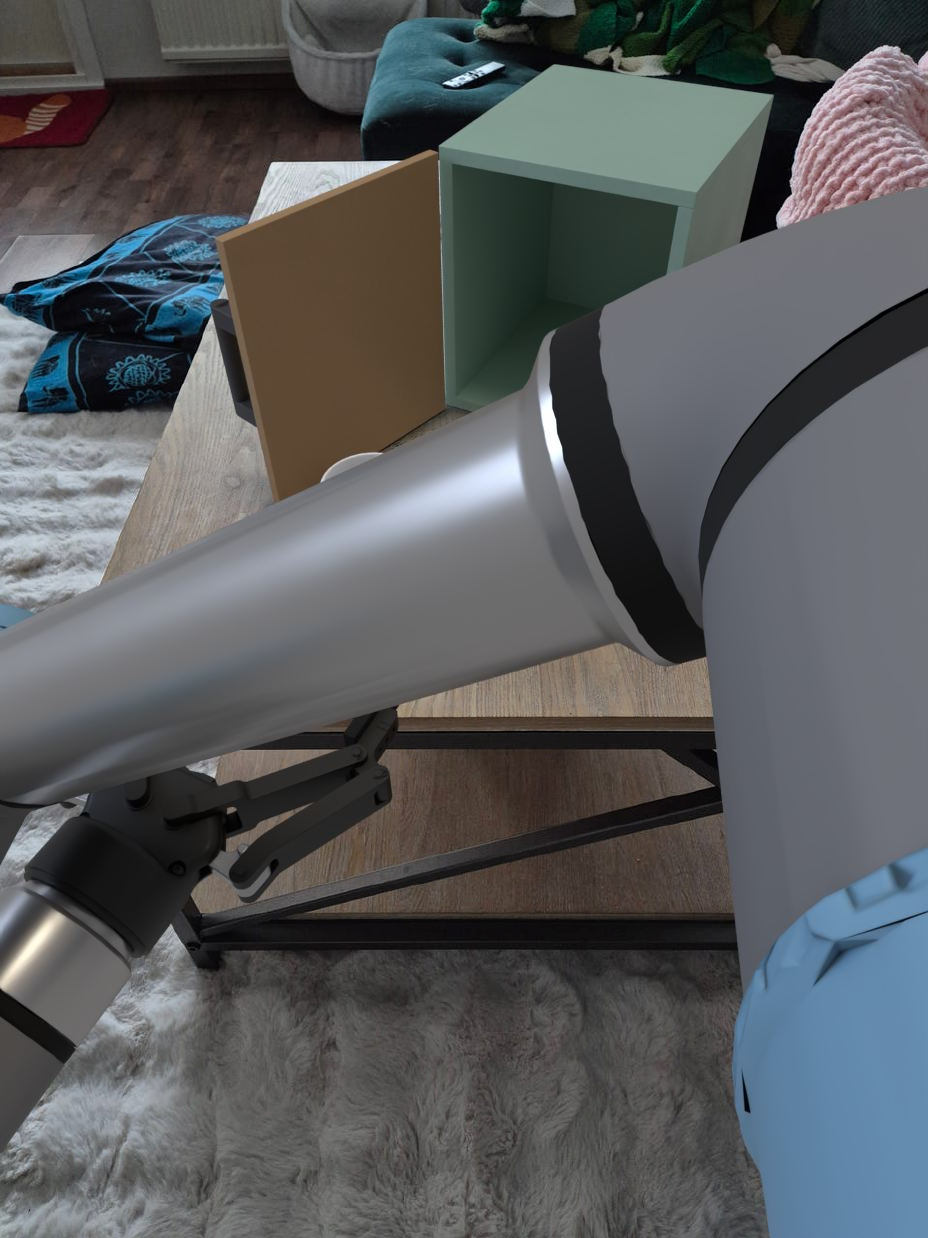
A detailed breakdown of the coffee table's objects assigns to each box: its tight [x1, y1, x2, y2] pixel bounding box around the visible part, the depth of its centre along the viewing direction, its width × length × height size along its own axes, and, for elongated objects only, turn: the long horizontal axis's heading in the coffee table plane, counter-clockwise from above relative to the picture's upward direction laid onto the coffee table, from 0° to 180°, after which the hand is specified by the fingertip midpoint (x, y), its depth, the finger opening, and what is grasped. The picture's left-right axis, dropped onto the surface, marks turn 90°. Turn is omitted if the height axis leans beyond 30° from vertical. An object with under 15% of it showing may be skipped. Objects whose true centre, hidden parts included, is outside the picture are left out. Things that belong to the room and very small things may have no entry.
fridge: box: [438, 64, 775, 413], centre depth 82 cm, size 24×21×24 cm
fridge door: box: [209, 149, 446, 504], centre depth 73 cm, size 6×21×24 cm, turn 138°
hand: (314, 633), depth 55 cm, fingers open, 13 cm apart
